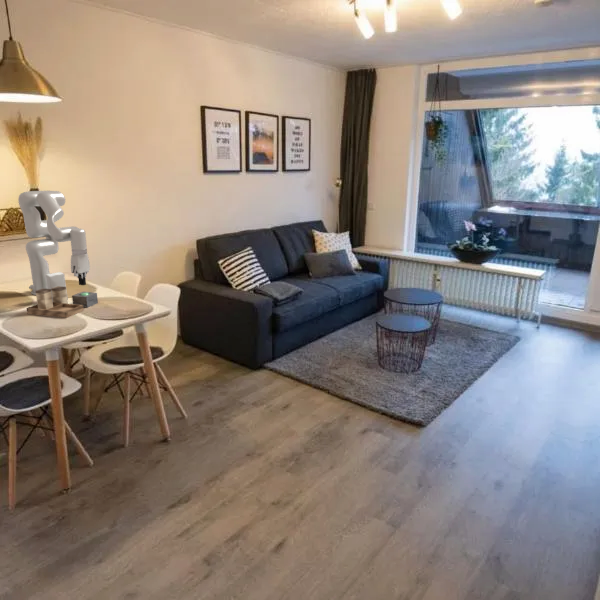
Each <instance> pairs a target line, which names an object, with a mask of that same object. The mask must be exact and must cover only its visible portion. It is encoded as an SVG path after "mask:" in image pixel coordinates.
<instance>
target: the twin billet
mask: <svg viewBox="0 0 600 600" xmlns="http://www.w3.org/2000/svg"><path fill="white" fill-rule="evenodd" d="M35 296H36V303H37V304H38V309H46V310H47V309H49V308H52V307H53V302H52V294H51V289H44V288H42V289H39V290H36V295H35ZM37 304H36V305H37Z"/></svg>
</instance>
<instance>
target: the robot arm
mask: <svg viewBox="0 0 600 600" xmlns="http://www.w3.org/2000/svg"><path fill="white" fill-rule="evenodd" d="M17 202H18V205H19V207H20V210H21V212H22V215H23V221H24V227H25V232H26V235H27V237H28V238H31V239H35V240H30V241H28V242H27V243H26V244H25V250H26V253H27V256H28V262H29V266H30V267H29V268H30V272H31V279H32V284H30V286H28V288H29V289H30V290H31V289H32V290H31V292H30V293H31V295H33V296H36V290H39V289H42V288H44V289H48V285H47V279H46V274H51V273H50V266H49V263H48V261H47V259H46V258H45V256H49V255H50V256H51V255H55V254H58V252H59V249H60V248H59V243H64V242H70V247H71V248H70V249H71V256H70V271H71V273H72V274H73V276H74V277H77V279H78V285H80V286H86V285H87V281H86V280H87V279H86V278H87V274H88V273H89V272H90V270H91V269H90V268H91V265H90V259H89V254H88V248H87V236H86V231H85V229H84V228H80V227H77V226H75V225H74V226H64V227H57V225H56V224H55V223H57V222H58V221H59V220H61V219H62V218H63V216H64V214H65V213H64V210H63V208H62V206H64V205H65V204H66V197H65V196H64V194H63V193H62V192H61V191H59V190H30V191H28V190H27V191H24V192H22V193H20V194H19V195H18V201H17ZM37 207H40V208H41V210H42V211H43V213H44V214H45V215H46V217H47V220H46V219H44V220H42V219H41V212H40V211H39V210H38V209H37ZM37 238H43V239H37Z"/></svg>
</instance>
